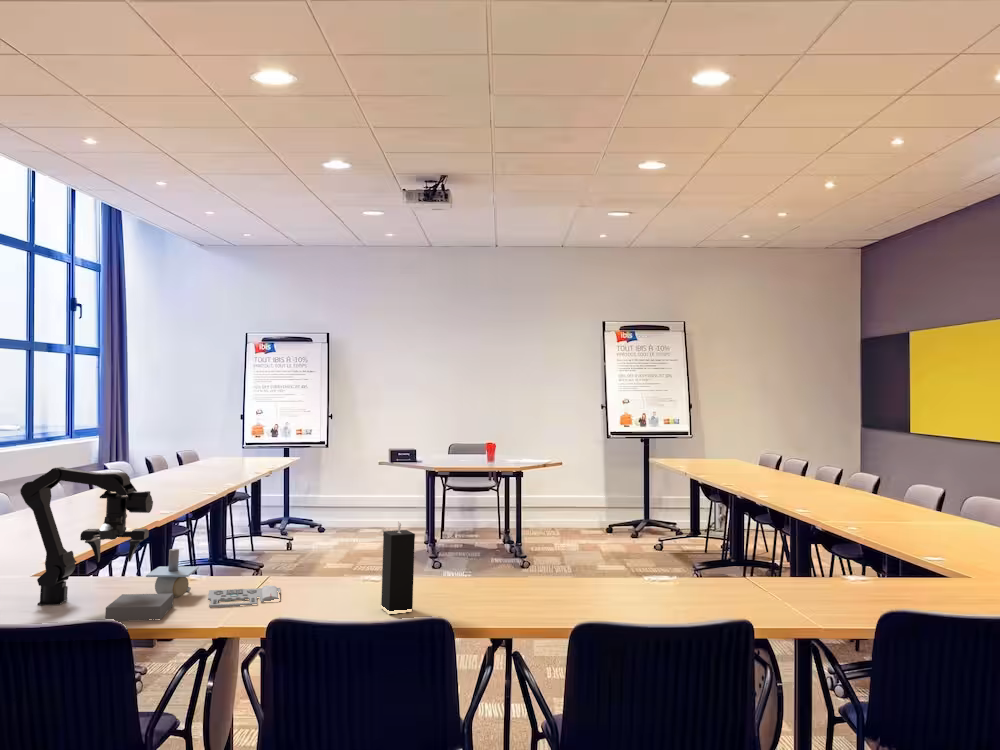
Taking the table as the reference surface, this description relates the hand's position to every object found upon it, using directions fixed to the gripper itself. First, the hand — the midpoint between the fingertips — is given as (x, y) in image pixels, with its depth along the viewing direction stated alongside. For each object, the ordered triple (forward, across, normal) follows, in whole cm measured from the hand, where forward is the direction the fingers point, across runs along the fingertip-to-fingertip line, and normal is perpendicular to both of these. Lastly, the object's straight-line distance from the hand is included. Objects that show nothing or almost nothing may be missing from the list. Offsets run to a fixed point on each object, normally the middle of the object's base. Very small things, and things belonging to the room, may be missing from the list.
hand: (113, 561), depth 235 cm
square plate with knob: (+5, +16, +8) cm, 19 cm away
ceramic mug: (+13, +17, +9) cm, 23 cm away
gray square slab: (+13, +12, -13) cm, 22 cm away
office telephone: (+14, +40, +3) cm, 42 cm away
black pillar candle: (+13, +89, -17) cm, 92 cm away
